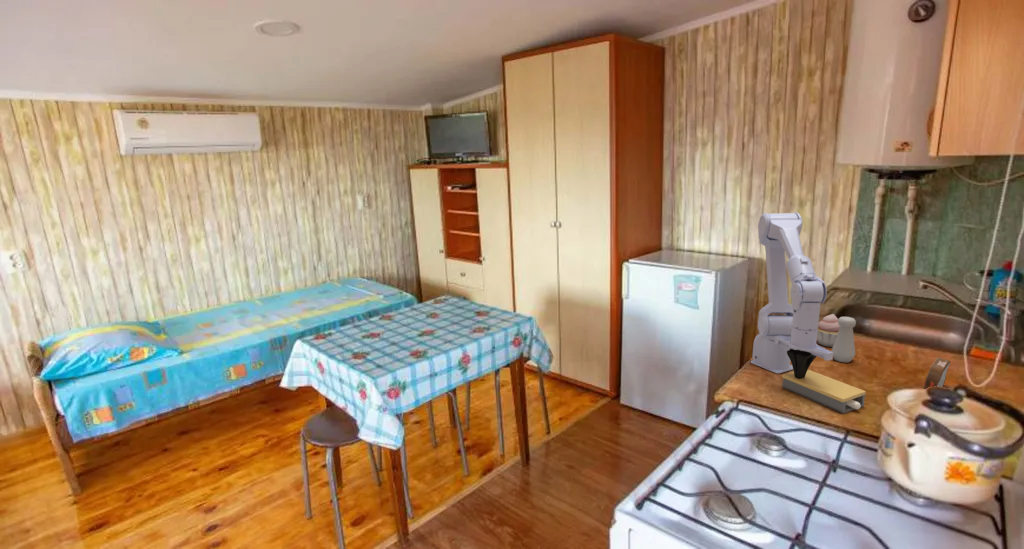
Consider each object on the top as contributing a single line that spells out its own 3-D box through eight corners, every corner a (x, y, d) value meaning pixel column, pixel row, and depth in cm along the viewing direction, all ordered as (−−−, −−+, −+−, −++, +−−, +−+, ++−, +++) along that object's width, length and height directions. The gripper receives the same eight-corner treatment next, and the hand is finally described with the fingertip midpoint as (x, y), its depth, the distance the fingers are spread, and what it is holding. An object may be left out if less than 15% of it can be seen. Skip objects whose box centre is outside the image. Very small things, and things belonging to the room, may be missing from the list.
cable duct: (780, 386, 137) (781, 376, 136) (800, 380, 140) (802, 370, 140) (848, 416, 121) (850, 404, 121) (869, 408, 125) (871, 396, 124)
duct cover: (782, 377, 136) (782, 374, 136) (803, 370, 139) (804, 367, 139) (843, 402, 122) (843, 399, 122) (865, 394, 125) (865, 391, 125)
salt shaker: (847, 356, 156) (852, 314, 153) (858, 363, 150) (863, 320, 147) (827, 356, 156) (831, 314, 153) (836, 363, 151) (841, 320, 148)
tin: (932, 382, 138) (937, 352, 136) (947, 385, 135) (952, 355, 133) (919, 401, 128) (924, 369, 126) (935, 405, 125) (941, 372, 124)
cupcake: (850, 344, 165) (854, 313, 163) (840, 351, 159) (844, 320, 157) (818, 336, 172) (821, 307, 170) (807, 344, 166) (810, 314, 164)
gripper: (768, 322, 135) (764, 370, 138) (821, 338, 123) (816, 391, 126) (787, 317, 138) (782, 365, 141) (841, 333, 126) (835, 385, 129)
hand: (799, 377), depth 134 cm, fingers closed, pressing on duct cover
